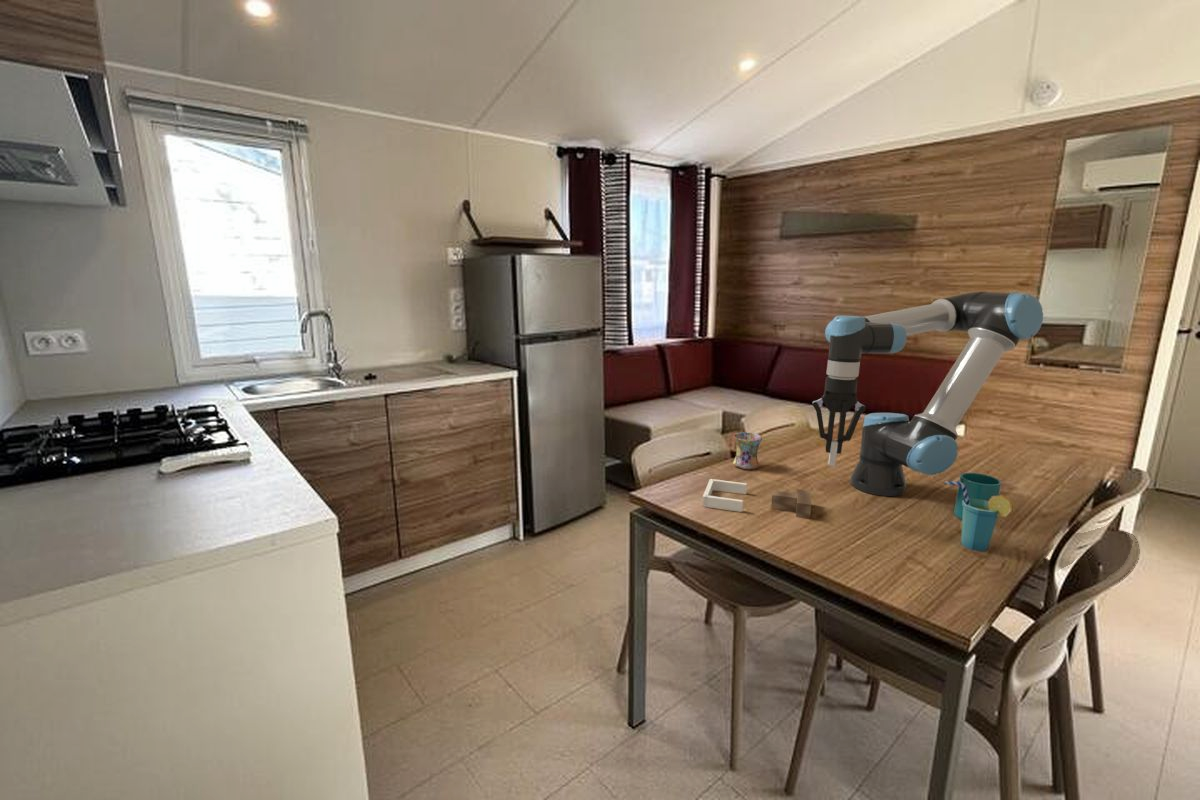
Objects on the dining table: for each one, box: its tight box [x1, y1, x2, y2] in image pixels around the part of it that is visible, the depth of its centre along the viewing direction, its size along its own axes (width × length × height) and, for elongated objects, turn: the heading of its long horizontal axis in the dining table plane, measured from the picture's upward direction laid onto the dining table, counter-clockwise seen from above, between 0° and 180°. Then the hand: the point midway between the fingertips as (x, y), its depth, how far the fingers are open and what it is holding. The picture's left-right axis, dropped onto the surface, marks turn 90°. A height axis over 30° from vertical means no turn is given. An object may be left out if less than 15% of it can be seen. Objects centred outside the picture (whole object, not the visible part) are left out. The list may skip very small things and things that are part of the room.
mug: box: [732, 431, 763, 470], centre depth 184 cm, size 12×9×11 cm
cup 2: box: [944, 480, 1014, 552], centre depth 129 cm, size 14×8×15 cm, turn 47°
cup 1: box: [953, 472, 1002, 520], centre depth 145 cm, size 9×12×11 cm
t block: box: [770, 489, 812, 520], centre depth 150 cm, size 10×10×4 cm
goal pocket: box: [701, 478, 748, 513], centre depth 156 cm, size 11×14×3 cm
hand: (831, 464), depth 144 cm, fingers closed
